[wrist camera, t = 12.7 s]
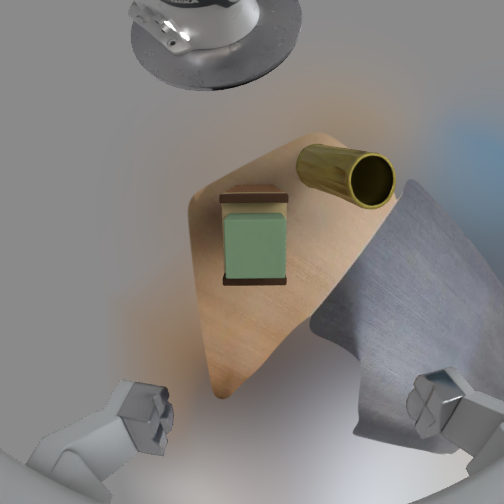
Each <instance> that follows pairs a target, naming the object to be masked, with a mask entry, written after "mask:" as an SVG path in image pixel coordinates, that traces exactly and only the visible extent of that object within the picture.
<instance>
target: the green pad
mask: <svg viewBox="0 0 504 504" xmlns="http://www.w3.org/2000/svg"><path fill="white" fill-rule="evenodd" d="M224 247H225V271H226V278H227V279H236V278H285V267H286V219H285V217H284V216H283V214H282V213H229V214H228V215H227V216H226V218H225V219H224Z"/></svg>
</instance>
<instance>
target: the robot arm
mask: <svg viewBox="0 0 504 504" xmlns="http://www.w3.org/2000/svg"><path fill="white" fill-rule="evenodd" d="M128 15H129V17H130V18H131V19H132V20H133V21H134V22H136V23H137V24H138V25H139V26H140V27H142V28H143V29H144V30H145V31H146V32H148V33H149V34H150V35H151V36H152V37H153V38H155V39H156V40H157V41H158V42H159V43H160V44H161V45H163V46H164V47H165V48H166V49H167V50H168V51H169V52H170V53H171V54H173V55H182V54H185V53H187V52H190V51H192V50H197V49H214V48H220V47H224V46H227V45H230V44H233V43H235V42H237V41H239V40H241V39H242V38H244V37H245V36H246V35H248V34H249V33H250V32H251V31H252V30H253V28H254V27H255V25H256V24H257V22H258V19H259V6H258V4H257V2H256V0H134V2H133V3H132V5H131V7H130V9H129V12H128ZM173 43H175V45H172V44H173ZM414 387H415V388H414V389H413V390H412V391H411V392H410V393H409V396H408V398H407V406H406V408H407V412H408V414H409V416H410V418H412V419H414V420H415V421H416V423H415V428H416V430H417V431H418V433H419V435H420V437H421V439H424V438H427V437H430V436H433V435H436V434H439V433H441V435H442V436H444V437H445V438H446V439H448V440H449V441H451V442H452V443H454V444H455V445H457V446H458V447H460V448H461V449H462V450H464V451H465V452H467V453H468V454H470V455H471V456H473V457H474V458H473V459H472V460H471V461H470V463H469V464H468V465H467V467H466V470H467V472H468V474H469V477H467V478H465V479H463V480H461V481H460V482H458V483H455V484H454V485H451V486H449V487H447V488H445V489H443V490H441V491H439V492H437V493H434V494H432V495H429V496H427V497H425V498H422V499H420V500H417V501H414V502H412V503H409V504H504V401H501V400H499V399H496V398H494V397H491V396H489V395H487V394H484V393H482V392H479V391H476V392H475V391H474V390H473V389H472V387H471V386H470V385H469V384H468V383H467V381H466V380H465V379H464V378H463V377H462V375H461V374H460V373H459V372H458V371H457V370H456V368H454V367H449V368H445V369H441V370H438V371H434V372H430V373H426V374H422V375H419V376H418V377H417V378H416V379H415V382H414ZM168 398H169V393H168V389H167V388H166V387H164V386H157V385H152V384H146V383H140V382H133V381H128V380H121V381H120V382H119V383H118V384H117V386H116V388H115V389H114V391H113V393H112V394H111V396H110V398H109V399H108V401H107V403H106V404H105V406H104V408H103V410H102V411H101V412H99V411H96V412H94V413H92V414H91V415H89V416H87V417H85V418H83V419H81V420H79V421H77V422H75V423H73V424H70V425H68V426H66V427H64V428H62V429H60V430H58V431H56V432H54V433H52V434H49V435H47V436H45V437H43V438H42V439H41V441H40V442H39V444H38V446H37V447H36V449H35V450H34V452H33V453H32V455H31V456H30V458H29V460H28V461H27V463H26V464H23V463H21V462H20V461H18V460H17V459H15V458H14V457H12V456H11V455H9V454H8V453H6V452H5V451H3V450H2V449H0V504H110V502H111V499H112V494H111V492H110V491H109V490H108V489H107V488H106V487H105V485H104V484H103V483H102V481H103V480H105V479H106V478H107V477H109V476H110V475H111V474H113V473H114V472H115V471H117V470H118V469H119V468H120V467H121V466H123V465H124V464H125V463H127V462H128V461H129V460H130V459H132V458H133V457H134V456H135V455H137V454H138V452H142V453H147V454H153V455H159V456H164V452H165V449H166V446H167V442H168V440H167V437H166V434H167V433H169V432H170V431H171V429H172V426H173V418H174V413H173V407H172V404H170V403H169V402H168Z"/></svg>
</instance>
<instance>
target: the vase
mask: <svg viewBox="0 0 504 504" xmlns="http://www.w3.org/2000/svg"><path fill="white" fill-rule="evenodd" d="M296 170H297V174H298V176H299V178H300V180H301V181H302V182H303V183H304V184H305V185H306V186H308V187H311V188H315V189H318V190H320V191H323V192H327V193H330V194H332V195H335V196H338V197H340V198H342V199H344V200H346V201H349V202H351V203H353V204H355V205H357V206H359V207H361V208H365V209H377V208H380V207H382V206H383V205H385V204H386V203H387V202H388V201H389V200H390V198H391V197H392V195H393V192H394V189H395V185H396V174H395V170H394V168H393V166H392V164H391V163H390V161H389V160H388V159H387V158H386V157H385V156H383V155H381V154H379V153H372V152H366V151H360V150H352V149H346V148H339V147H332V146H326V145H323V144H312V145H309V146H307V147H306V148H304V149H303V150H302V151H301V153H300V154H299V156H298V158H297V163H296Z"/></svg>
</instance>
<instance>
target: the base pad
mask: <svg viewBox="0 0 504 504" xmlns="http://www.w3.org/2000/svg"><path fill="white" fill-rule="evenodd" d="M287 202H288V194H286V193H285V192H283V191H282V190H280V189H278V188H277V187H275V186H273V185H236V186H234V187H233V188H231V189H229V190H227V191H226V192H224V193H222V194H221V195H220V203H222V228H223V255H224V276H223V285H224V286H250V285H286V282H287V278H286V275H285V278H236V279H227V278H226V271H225V247H224V219H225V218H226V216H227V215H228V214H229V213H282V214H283V216H284V217H285V219H286V203H287Z"/></svg>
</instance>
